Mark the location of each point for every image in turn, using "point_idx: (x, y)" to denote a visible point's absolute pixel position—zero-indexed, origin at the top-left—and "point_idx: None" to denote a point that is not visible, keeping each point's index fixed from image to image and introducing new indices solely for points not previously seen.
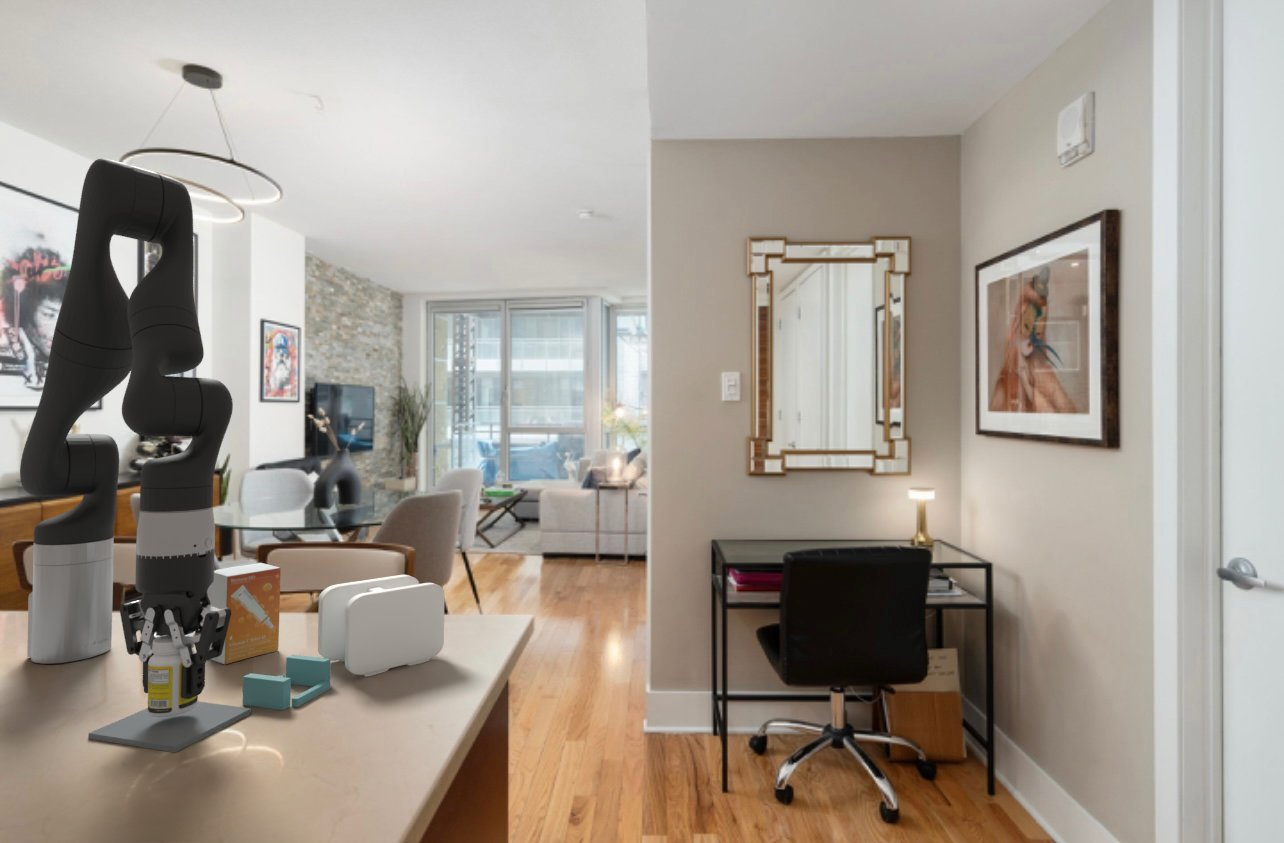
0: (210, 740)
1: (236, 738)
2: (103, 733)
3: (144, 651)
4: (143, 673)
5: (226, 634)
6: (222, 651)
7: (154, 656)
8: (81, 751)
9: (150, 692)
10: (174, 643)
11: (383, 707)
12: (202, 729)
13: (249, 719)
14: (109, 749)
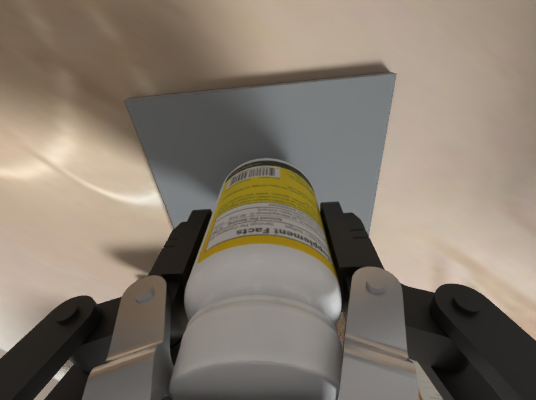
0: (134, 161)
1: (103, 182)
2: (354, 86)
3: (377, 306)
4: (367, 240)
5: (419, 396)
6: (413, 360)
7: (288, 288)
8: (343, 11)
9: (275, 186)
10: (148, 371)
11: (47, 305)
12: (167, 176)
13: (167, 235)
14: (284, 50)
